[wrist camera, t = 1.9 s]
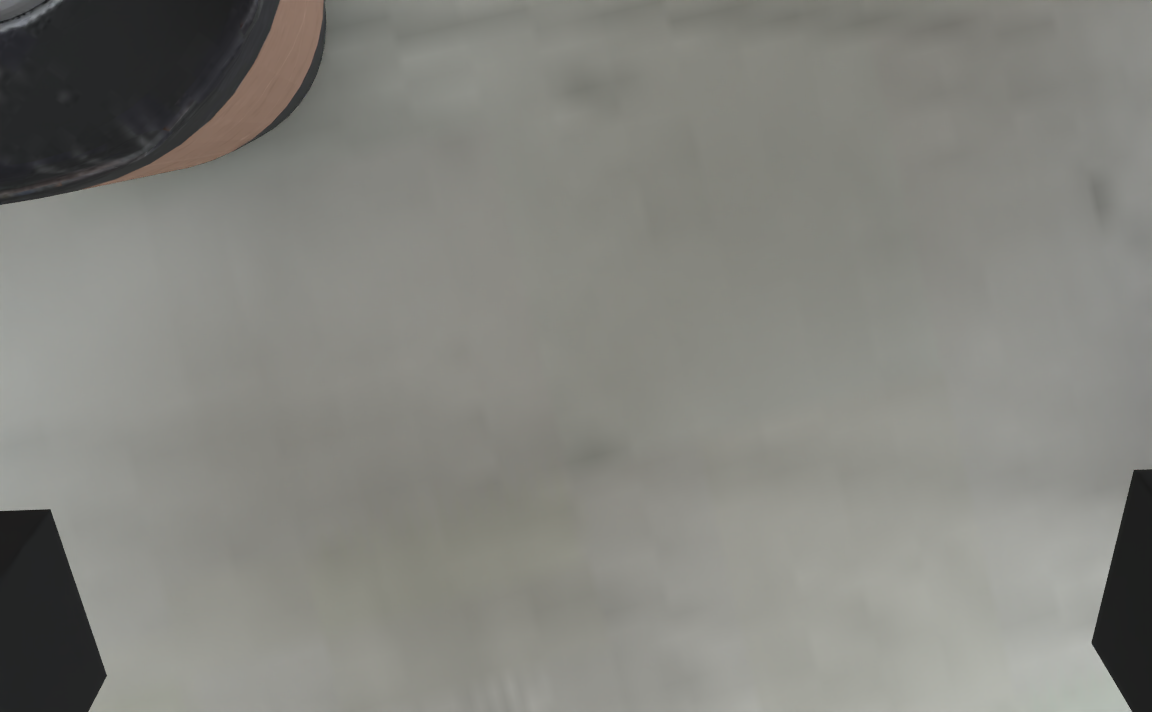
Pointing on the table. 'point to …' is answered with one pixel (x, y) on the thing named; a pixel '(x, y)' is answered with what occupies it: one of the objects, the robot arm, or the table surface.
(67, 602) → the robot arm
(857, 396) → the table surface
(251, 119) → the travel mug
